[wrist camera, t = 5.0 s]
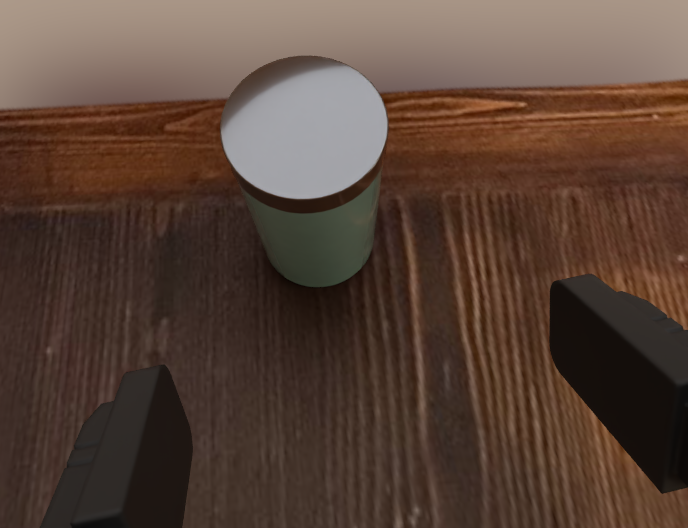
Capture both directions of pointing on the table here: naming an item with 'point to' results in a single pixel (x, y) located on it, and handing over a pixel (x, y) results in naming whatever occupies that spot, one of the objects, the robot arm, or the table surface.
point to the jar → (309, 164)
